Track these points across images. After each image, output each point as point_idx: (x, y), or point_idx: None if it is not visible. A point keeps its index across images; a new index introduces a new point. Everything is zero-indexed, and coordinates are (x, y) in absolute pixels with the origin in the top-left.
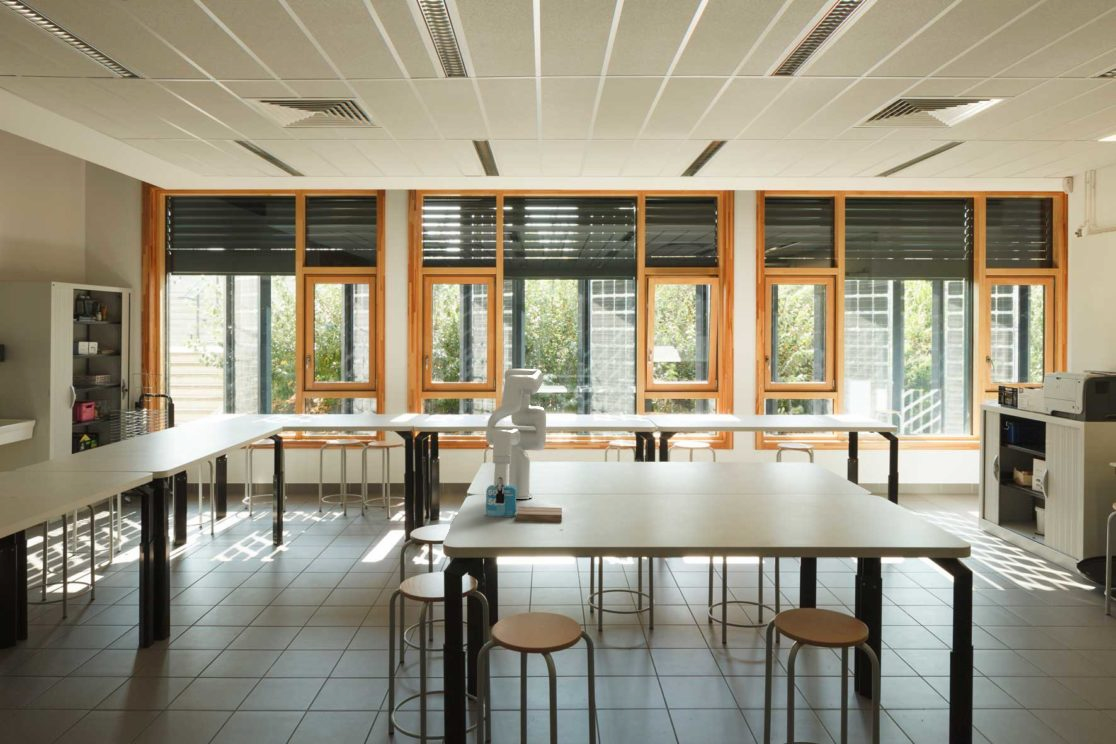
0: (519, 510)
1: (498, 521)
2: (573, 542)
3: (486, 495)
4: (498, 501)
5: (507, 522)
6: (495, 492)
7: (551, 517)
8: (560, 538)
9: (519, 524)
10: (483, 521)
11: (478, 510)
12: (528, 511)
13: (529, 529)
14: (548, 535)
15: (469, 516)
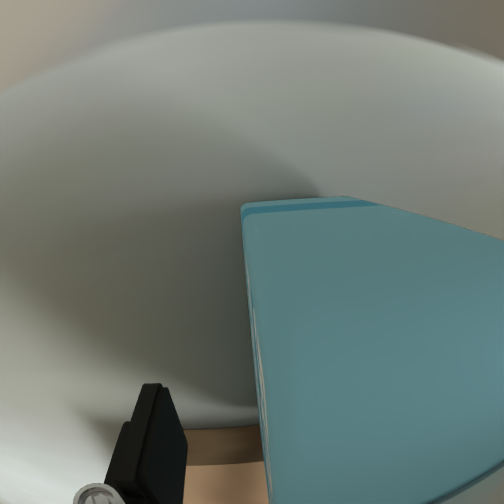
0: (235, 471)
1: (84, 337)
2: (7, 501)
3: (248, 249)
4: (128, 421)
5: (86, 389)
6: (267, 455)
7: None
8: (13, 493)
9: (79, 438)
10: (47, 234)
11: (432, 105)
12: (219, 501)
13: (32, 456)
14: (14, 481)
15: (190, 65)
